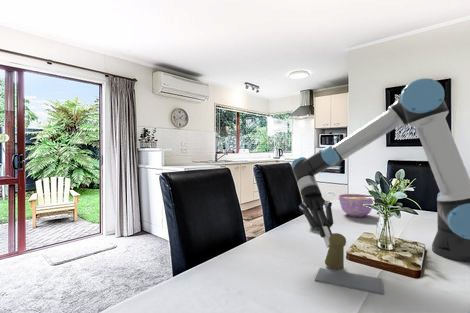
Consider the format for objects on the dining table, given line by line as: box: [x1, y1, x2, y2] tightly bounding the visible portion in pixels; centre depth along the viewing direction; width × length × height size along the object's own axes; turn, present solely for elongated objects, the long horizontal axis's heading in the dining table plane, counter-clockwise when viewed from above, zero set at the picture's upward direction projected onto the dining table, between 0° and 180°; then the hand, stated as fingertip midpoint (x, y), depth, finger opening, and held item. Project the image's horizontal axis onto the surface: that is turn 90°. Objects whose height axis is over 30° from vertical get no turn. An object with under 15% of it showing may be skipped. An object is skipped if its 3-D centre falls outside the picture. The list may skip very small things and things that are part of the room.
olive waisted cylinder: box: [324, 232, 347, 271], centre depth 86 cm, size 6×6×11 cm
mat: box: [314, 267, 384, 296], centre depth 78 cm, size 18×9×1 cm, turn 63°
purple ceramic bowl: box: [338, 193, 374, 218], centre depth 158 cm, size 20×20×12 cm
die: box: [308, 214, 323, 230], centre depth 132 cm, size 8×9×10 cm
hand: (330, 245), depth 89 cm, fingers closed
